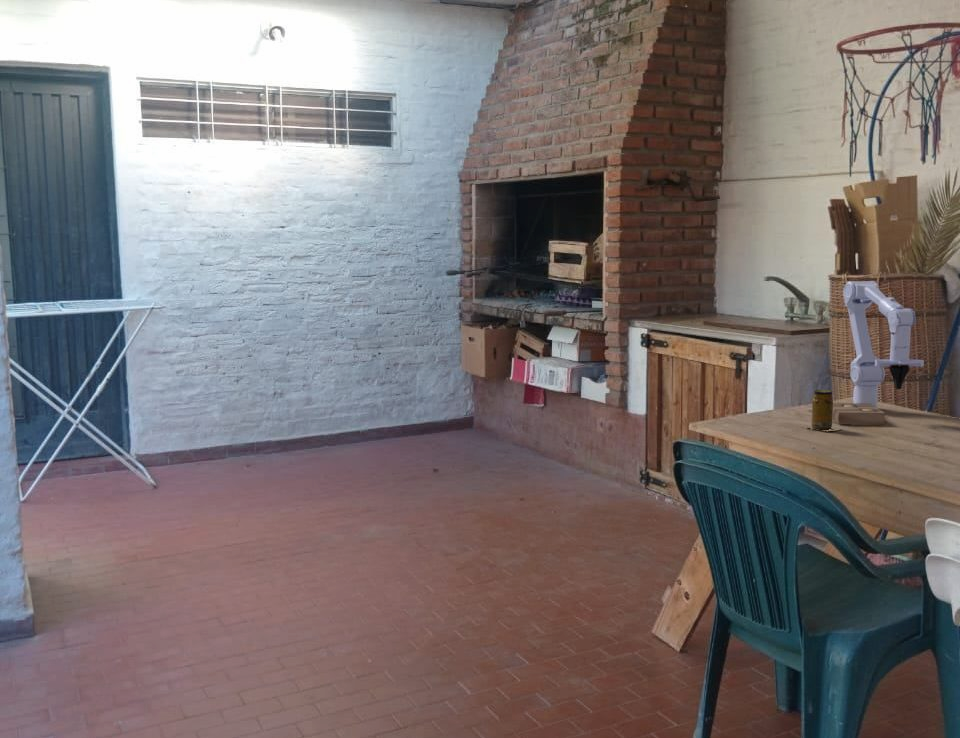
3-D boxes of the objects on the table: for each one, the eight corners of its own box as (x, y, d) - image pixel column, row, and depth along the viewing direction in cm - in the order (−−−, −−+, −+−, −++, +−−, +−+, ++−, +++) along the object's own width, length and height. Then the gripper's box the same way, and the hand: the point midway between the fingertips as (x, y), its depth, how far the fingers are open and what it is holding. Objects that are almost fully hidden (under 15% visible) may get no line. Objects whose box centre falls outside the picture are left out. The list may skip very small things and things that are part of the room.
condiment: (818, 425, 315) (819, 388, 314) (842, 429, 309) (844, 391, 307) (805, 428, 311) (806, 391, 309) (829, 433, 304) (831, 394, 303)
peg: (841, 416, 328) (842, 404, 328) (853, 416, 328) (853, 404, 327) (844, 419, 325) (845, 406, 324) (856, 419, 324) (856, 407, 324)
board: (826, 414, 332) (827, 402, 331) (870, 415, 330) (870, 403, 330) (838, 424, 316) (838, 412, 316) (884, 425, 315) (884, 412, 314)
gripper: (880, 348, 315) (878, 390, 317) (927, 348, 314) (925, 390, 316) (873, 345, 322) (871, 386, 324) (920, 345, 320) (918, 387, 323)
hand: (897, 388), depth 320 cm, fingers closed
